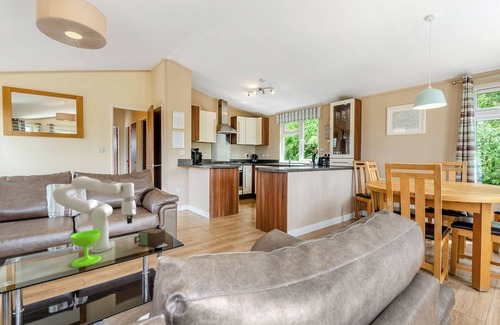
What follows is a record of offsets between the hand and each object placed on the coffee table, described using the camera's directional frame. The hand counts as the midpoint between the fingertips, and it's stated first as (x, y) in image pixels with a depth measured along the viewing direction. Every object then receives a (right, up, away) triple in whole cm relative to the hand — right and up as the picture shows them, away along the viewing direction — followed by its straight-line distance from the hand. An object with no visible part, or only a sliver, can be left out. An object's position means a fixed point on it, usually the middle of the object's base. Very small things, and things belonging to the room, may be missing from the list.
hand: (129, 223), depth 170 cm
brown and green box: (+15, -17, +6) cm, 24 cm away
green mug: (+9, -17, -1) cm, 19 cm away
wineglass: (-15, -19, -24) cm, 34 cm away
